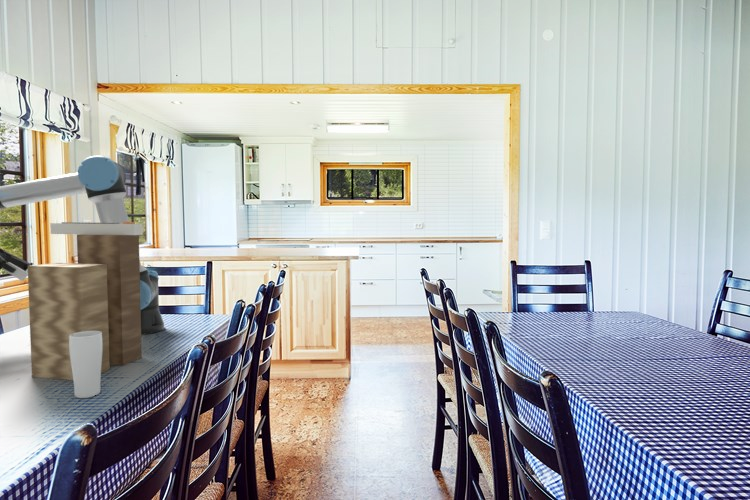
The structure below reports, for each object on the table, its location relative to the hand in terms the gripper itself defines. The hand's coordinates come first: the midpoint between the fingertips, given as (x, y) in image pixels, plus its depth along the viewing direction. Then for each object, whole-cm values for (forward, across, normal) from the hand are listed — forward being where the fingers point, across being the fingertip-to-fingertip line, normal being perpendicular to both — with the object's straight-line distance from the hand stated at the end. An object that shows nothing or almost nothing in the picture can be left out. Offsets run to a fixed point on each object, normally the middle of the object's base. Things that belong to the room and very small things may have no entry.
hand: (36, 278), depth 146 cm
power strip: (+12, +19, +23) cm, 32 cm away
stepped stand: (+34, +19, -9) cm, 40 cm away
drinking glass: (+42, +42, -9) cm, 60 cm away
